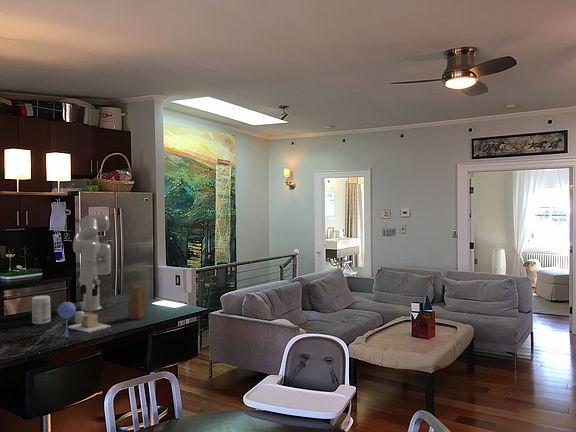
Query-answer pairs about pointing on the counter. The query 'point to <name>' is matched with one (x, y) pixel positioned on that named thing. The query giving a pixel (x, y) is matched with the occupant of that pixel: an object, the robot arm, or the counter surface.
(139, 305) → the block
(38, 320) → the supplement tub
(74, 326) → the plan board
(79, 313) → the sage drum
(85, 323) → the oak cube
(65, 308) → the baby rattle
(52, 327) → the counter surface
